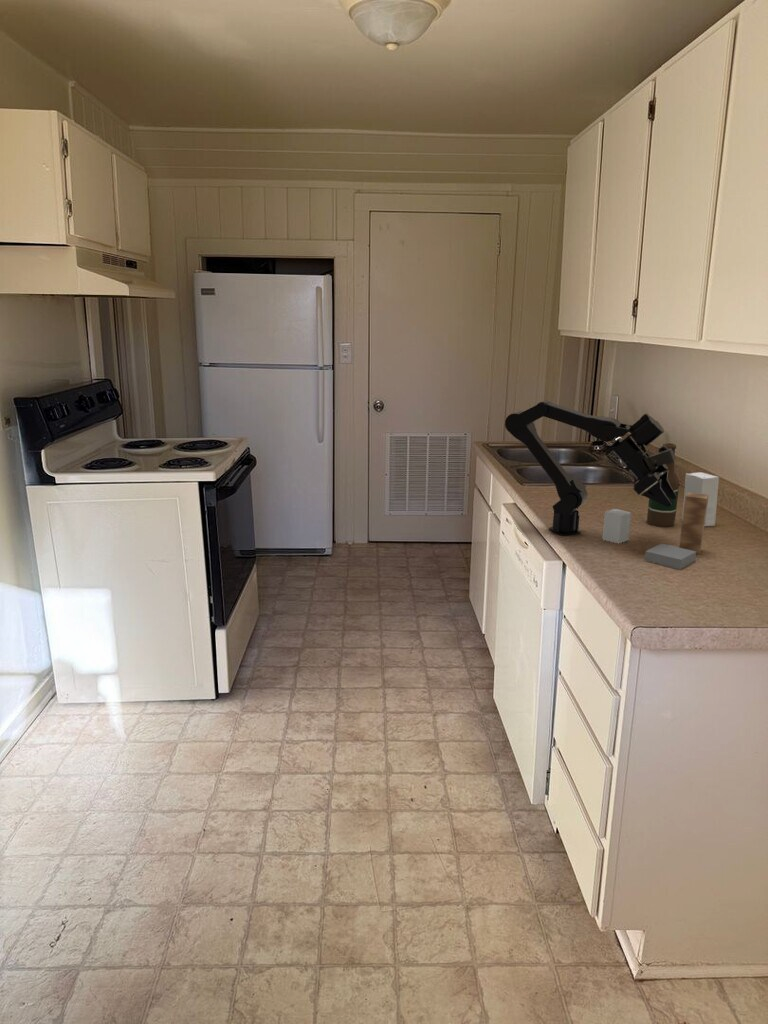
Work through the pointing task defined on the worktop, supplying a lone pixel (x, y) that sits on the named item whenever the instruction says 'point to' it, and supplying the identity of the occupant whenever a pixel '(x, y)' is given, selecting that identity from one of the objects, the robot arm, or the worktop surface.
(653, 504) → the beer bottle
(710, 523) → the skincare box
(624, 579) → the worktop surface
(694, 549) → the walnut post
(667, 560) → the greyblue square slab
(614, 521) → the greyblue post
